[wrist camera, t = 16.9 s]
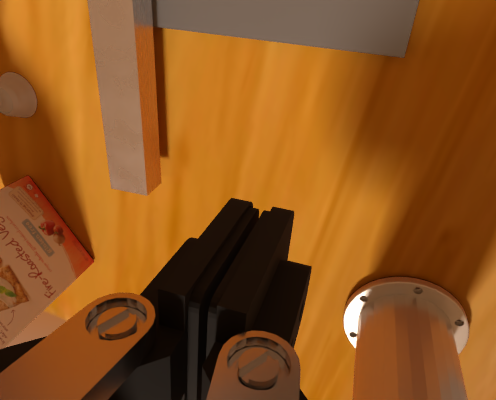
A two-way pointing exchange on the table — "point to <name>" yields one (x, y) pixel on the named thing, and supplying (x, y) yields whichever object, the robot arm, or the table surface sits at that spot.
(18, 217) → the cracker box
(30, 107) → the chalice
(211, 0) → the label board
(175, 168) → the table surface
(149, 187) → the swing bar
